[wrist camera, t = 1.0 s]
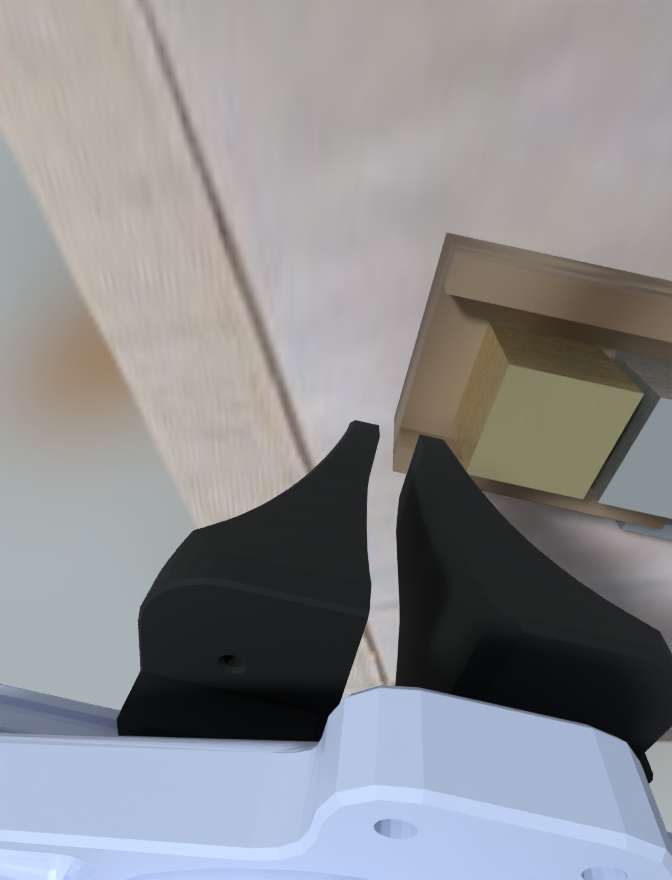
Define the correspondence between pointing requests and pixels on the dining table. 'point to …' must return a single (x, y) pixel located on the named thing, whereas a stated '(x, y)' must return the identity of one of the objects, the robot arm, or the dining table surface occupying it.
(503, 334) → the yellow cube
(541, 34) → the dining table surface
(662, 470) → the grey cube
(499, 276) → the slot block
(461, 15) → the dining table surface
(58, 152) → the dining table surface
